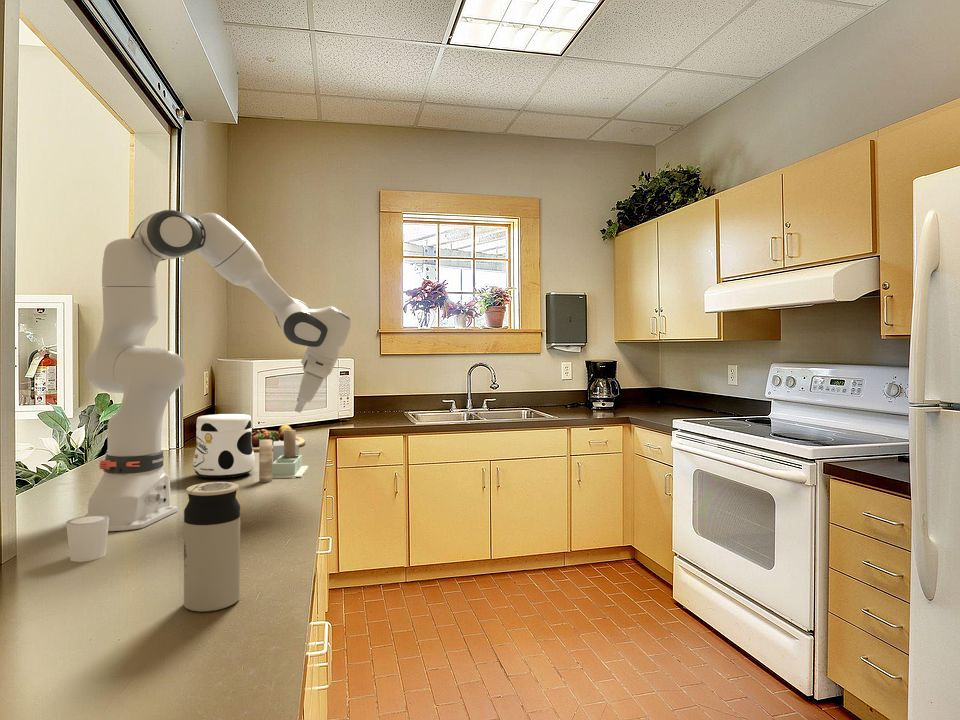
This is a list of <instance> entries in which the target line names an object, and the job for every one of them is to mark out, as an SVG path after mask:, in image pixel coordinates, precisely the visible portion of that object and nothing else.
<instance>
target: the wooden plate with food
mask: <svg viewBox="0 0 960 720" xmlns="http://www.w3.org/2000/svg"><path fill="white" fill-rule="evenodd" d="M284 430H293V428H292V427H291V426H290V425H288V424H286V423H283V424H281V426H280V427H279V429H278V431H276V430H267V429H257V430H255V431H254V432H252V437H251V442H252V448H253V451H254V453H259V440H265V439H270V440H272V453H273V442H274V441H284ZM297 440H298V444H299V447H300V448H302V447H304V446H305V445H306V440H305V439H304V438H302V437H299V436H296V441H297Z"/></svg>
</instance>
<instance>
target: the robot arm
mask: <svg viewBox="0 0 960 720" xmlns="http://www.w3.org/2000/svg"><path fill="white" fill-rule="evenodd" d="M190 253H195V254H197V255H199V256H200V257H201V258H203V259H204V260H205V261H206V262H207V264H209V265H210V266H211V267H212V268H213V269H214V270H215V271H216V272H217V273H218V275H220V276H221V277H222V278H223V279H226V281H228V282H229V283H231V285H234V286H237V287H243V288H246V289H248V290H250V291H251V292H253V293H254V294H255V295H256V296H257V297H258V298H259V299H260V300H261V301H262V302H264V304H265V305H266V306H267V307H268V308H269V309H270V310H271V311H272V313H274V314H273V315H274V316H275V319H276V322H277V324H278V327H280V329H281V330H282V333H283V334H284V336H285V337H286V339H287V340H288V341H289V342H290V343H292V344H295V345H299V346H300V345H301V346H304V347H306V350H305V352H304V354H303V356H302V359H301V360H300V363H301V365H302V366H303V368H302V371H303V375H302V377H301V380H300V385H299V391H298V393H297V399H296V401H297V404H296V405H295V408H294V411H295V412H297V413H302V411H303V409H304V407H305V405H306V404H307V403H311V402H312V401H313V399H314V397H316V394H317V392H318V391H319V389H320V387H321V385H322V384H323V381H324V380H327V378H328V377H329V375H331V374H332V372H333V369H334V367H335V365H336V363H337V361H338V358H339V354H340V351H341V350H342V348H344V345H345V343H346V341H347V339H348V335H349V333H350V329H351V327H352V322H351V319H350V317H349V315H347V314H346V313H345V312H344V311H342V310H341V309H339V308H337V307H335V306H333V305H329V306H326V307H319V308H311V307H310V306H309V305H308V304H307V303H306V302H304V301H302V300H300V299H297V298H294V297H293V296H291V295H289V293H288V292H286V291H285V290H284V288H283V287H282V286H280V284H279V283H278V282H277V281H276V280H275V279H274V278H273V277H272V276H271V275H270V273H269V272H268V270H267V268H266V266H265V263H264V260H263V258H262V256H261V255H260V253H258V251H257V250H256V248H255V247H254V246H253V245H252V243H251V242H250V241H249V240H248V239H247V238H246V237H245V236H244V235H243V234H242V233H241V232H240V231H239V230H238V229H237V228H236V227H235V226H234V225H233V224H231V223H230V222H229V221H227V220H226V219H225V218H223V217H222V216H221V215H219V213H218V214H217V213H216V212H206V213H201V214H199V215H198V216H196V217H195V216H192V215H189V214H187V213H185V212H182V211H178V210H174V209H164V210H162V211H161V210H160V211H158V212H154V213H152V214H149V215H148V216H146V217H145V218H144V219H143V220H142V221H140V222H139V224H138V225H137V226H136V228H135V230H134V232H133V234H132V235H131V237H130V238H119V239H116V240H113V241H111V242H109V243H108V244H107V245H106V247H105V248H104V251H103V257H102V268H101V269H102V270H101V287H102V304H103V305H102V308H103V309H102V311H103V313H102V314H103V320H102V328H101V331H100V332H101V333H100V337H99V340H98V343H97V344H96V348H95V349H94V351H92V353H91V354H89V356H88V357H87V359H86V360H85V363H84V368H83V371H84V376H85V379H86V381H87V382H88V383H89V384H90V385H91V386H93V387H94V388H97V389H99V390H102V391H105V392H108V393H113V394H115V393H116V394H123V396H122V401H121V403H120V406H119V408H118V409H117V412H115V413H114V414H113V415H112V416H110V418H109V419H108V422H107V454H105V457H104V458H105V459H104V460H103V459H102V460H100V461H99V463H98V468H99V470H102V472H103V474H102V476H101V477H100V479H99V481H98V482H97V485H96V487H95V488H94V490H93V491H92V493H91V495H90V497H89V498H88V505H87V513H86V514H85V515H84V516H91V515H104V516H108V517H109V526H108V532H116V531H117V532H118V531H129V530H130V531H131V530H137V529H143V528H145V527H147V526H149V525H152V524H154V523H155V522H158V521H160V520H162V519H164V518H166V517H168V516H170V515H173V514H174V513H177V512H178V506H176V505H173V504H172V494H171V493H172V492H171V483H170V482H171V480H170V479H171V478H170V476H169V474H167V473H166V472H165V470H164V469H163V466H164V459H165V458H164V457H165V456H164V451H163V450H162V432H163V431H162V430H163V418H164V413H165V409H166V407H167V404H168V402H169V400H170V398H171V397H172V395H173V394H174V392H176V391H177V390H178V389H179V388H180V387H181V386H182V384H183V383H184V381H185V378H186V365H185V362H184V359H183V358H182V357H181V356H180V355H179V354H178V353H176V352H174V351H172V350H168V349H165V348H164V349H163V348H161V347H149V346H148V347H145V343H146V340H147V336H148V333H149V331H150V330H151V329H152V328H153V327H154V326H155V325H156V324H157V323H158V320H159V306H158V303H159V302H158V290H157V277H156V274H157V269H158V265H159V264H160V262H161V261H167V260H175V259H178V258H180V257H182V256H186V255H188V254H190Z"/></svg>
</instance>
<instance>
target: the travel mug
mask: <svg viewBox="0 0 960 720" xmlns="http://www.w3.org/2000/svg"><path fill="white" fill-rule="evenodd" d="M239 487H240V486H239V484H237V483H235V482H231V481H229V482H228V481H210V482H202V483H197V484H192V485H191V486H188V487H187V488H186V489H185V492H186V494H187V496H188V502H187V505H186V506H185V508H184V509H183V606H184V608H186V609H187V610H190V611H192V612H200V613H209V612H216V611H219V610H224V609H227V608H229V607H230V606H232V605H234V604H236V603H237V602H238V601H239V600H240V598H241V504H240V502H239V501H238V499H237V498H236V496H237V491H238V489H239Z"/></svg>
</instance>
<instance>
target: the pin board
mask: <svg viewBox="0 0 960 720" xmlns="http://www.w3.org/2000/svg"><path fill="white" fill-rule="evenodd" d="M296 437H297V431H296V429H292V430H284V455H281V456H279V457H278V458H277V460H275V461H274V462H273V461H272V479H297V478H296V477H301V478H303V476H304V475H305V473H306V472H307V471H308V469H309V467H310V465H303V454H299V455H296ZM306 470H307V471H306ZM303 474H304V475H303Z"/></svg>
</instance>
